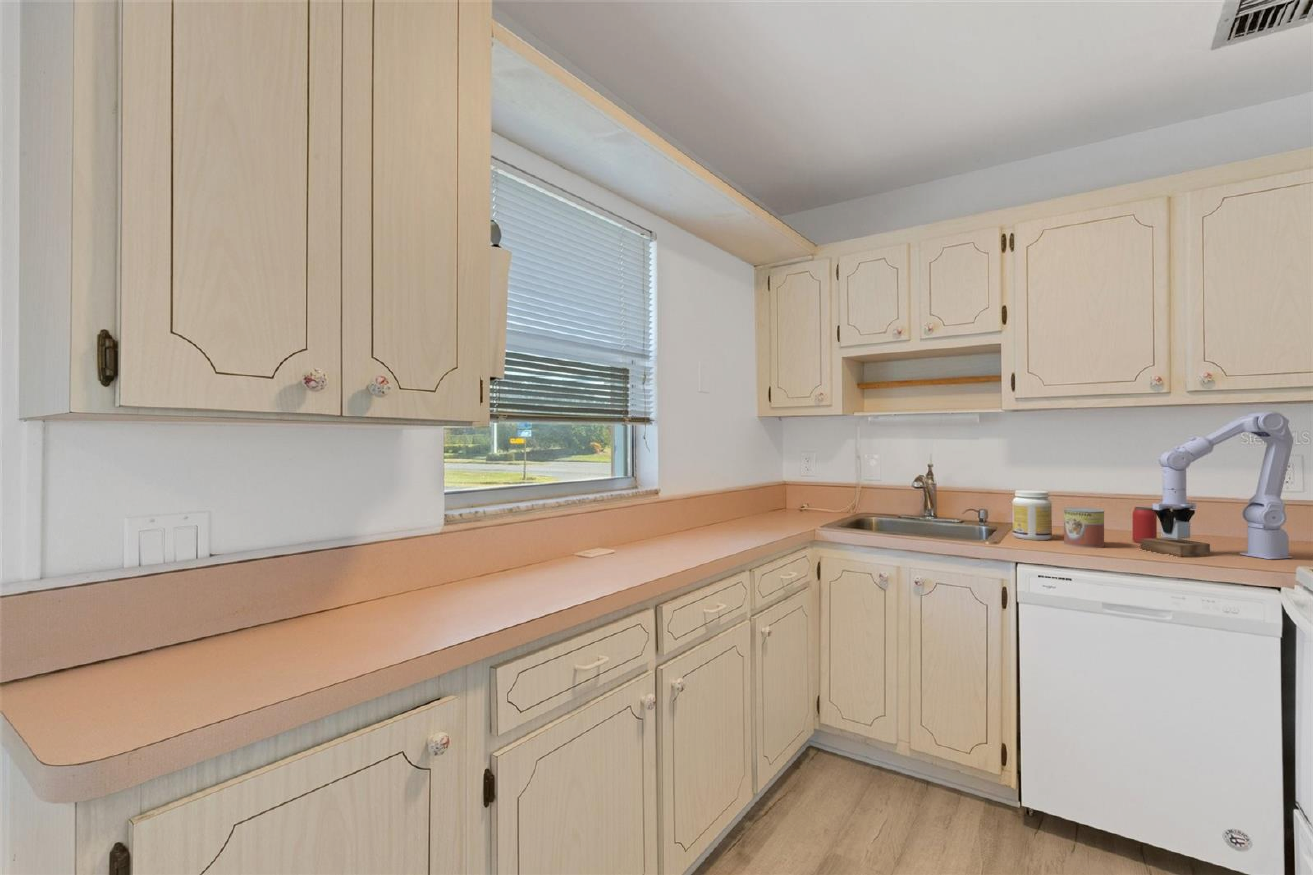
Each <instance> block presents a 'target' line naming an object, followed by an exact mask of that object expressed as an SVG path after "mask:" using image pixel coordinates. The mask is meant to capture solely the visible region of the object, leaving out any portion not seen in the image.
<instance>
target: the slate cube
mask: <svg viewBox="0 0 1313 875" xmlns="http://www.w3.org/2000/svg"><path fill="white" fill-rule="evenodd" d="M1160 537H1161V538H1166V537H1169V538H1175V539H1183V540H1187V539H1191V522H1190V521H1189V522H1184V521H1177V520H1175V519H1174V522H1173V529H1172V533H1166V532H1164V531H1163V528H1162V525H1161V524H1160Z"/></svg>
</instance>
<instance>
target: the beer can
mask: <svg viewBox="0 0 1313 875" xmlns="http://www.w3.org/2000/svg"><path fill="white" fill-rule="evenodd" d="M1157 518H1158V516H1157V515H1156V513H1155V512H1154V510H1153V507H1148V506H1147V507H1146V506H1145V507H1144V506H1136V507H1134V509H1133V511H1132V541H1133V542H1134V543H1137V544H1140V539H1149V538H1158V534H1157V533H1158V532H1157V531H1158V526H1157V525H1158V520H1157Z"/></svg>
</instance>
